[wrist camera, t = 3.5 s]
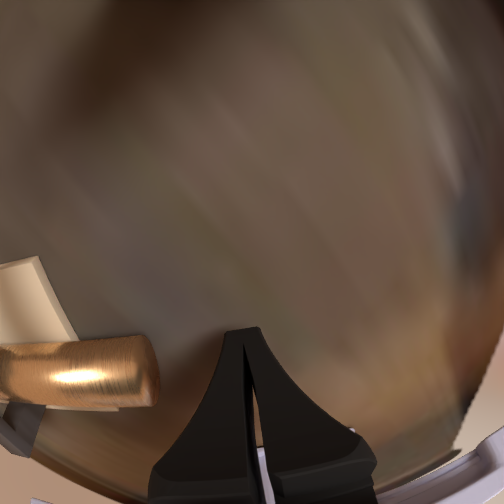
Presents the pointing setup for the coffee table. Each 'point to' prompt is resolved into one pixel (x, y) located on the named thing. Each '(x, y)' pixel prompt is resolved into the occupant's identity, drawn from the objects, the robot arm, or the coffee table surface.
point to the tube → (81, 373)
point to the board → (29, 342)
